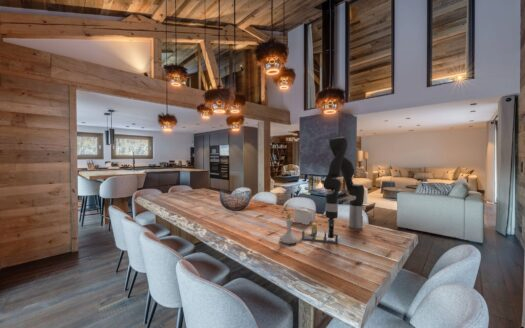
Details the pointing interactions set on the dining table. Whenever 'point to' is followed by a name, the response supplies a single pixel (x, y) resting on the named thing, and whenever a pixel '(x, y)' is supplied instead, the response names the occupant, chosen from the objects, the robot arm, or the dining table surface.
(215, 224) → the dining table surface
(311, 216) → the cable organizer
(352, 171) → the robot arm
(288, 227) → the white tapered rounded piece
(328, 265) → the dining table surface
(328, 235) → the plug white
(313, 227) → the plug mustard
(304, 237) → the grey compartment rack
